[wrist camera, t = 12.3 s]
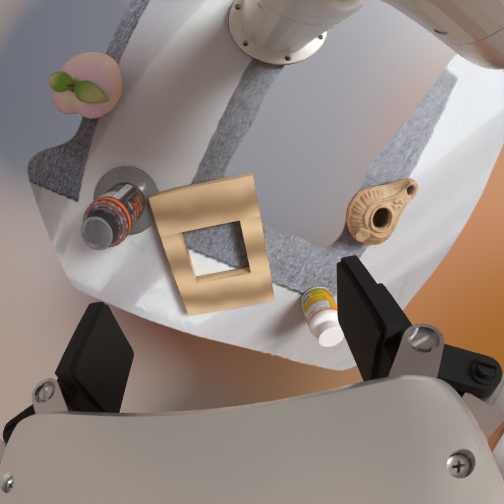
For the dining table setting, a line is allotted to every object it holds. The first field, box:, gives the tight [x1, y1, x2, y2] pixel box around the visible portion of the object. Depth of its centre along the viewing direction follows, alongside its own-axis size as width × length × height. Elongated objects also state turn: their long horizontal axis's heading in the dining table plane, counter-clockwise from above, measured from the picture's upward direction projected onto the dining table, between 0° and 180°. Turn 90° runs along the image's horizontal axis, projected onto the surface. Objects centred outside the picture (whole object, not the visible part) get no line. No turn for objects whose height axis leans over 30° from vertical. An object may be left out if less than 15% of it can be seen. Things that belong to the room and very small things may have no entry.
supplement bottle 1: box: [81, 182, 145, 250], centre depth 34 cm, size 6×6×11 cm
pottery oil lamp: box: [346, 178, 418, 245], centre depth 40 cm, size 9×12×7 cm
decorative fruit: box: [49, 52, 123, 118], centre depth 27 cm, size 9×8×10 cm
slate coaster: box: [94, 166, 158, 235], centre depth 39 cm, size 10×10×1 cm
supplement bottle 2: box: [301, 287, 344, 347], centre depth 45 cm, size 5×5×10 cm
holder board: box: [148, 172, 275, 315], centre depth 43 cm, size 20×14×2 cm
